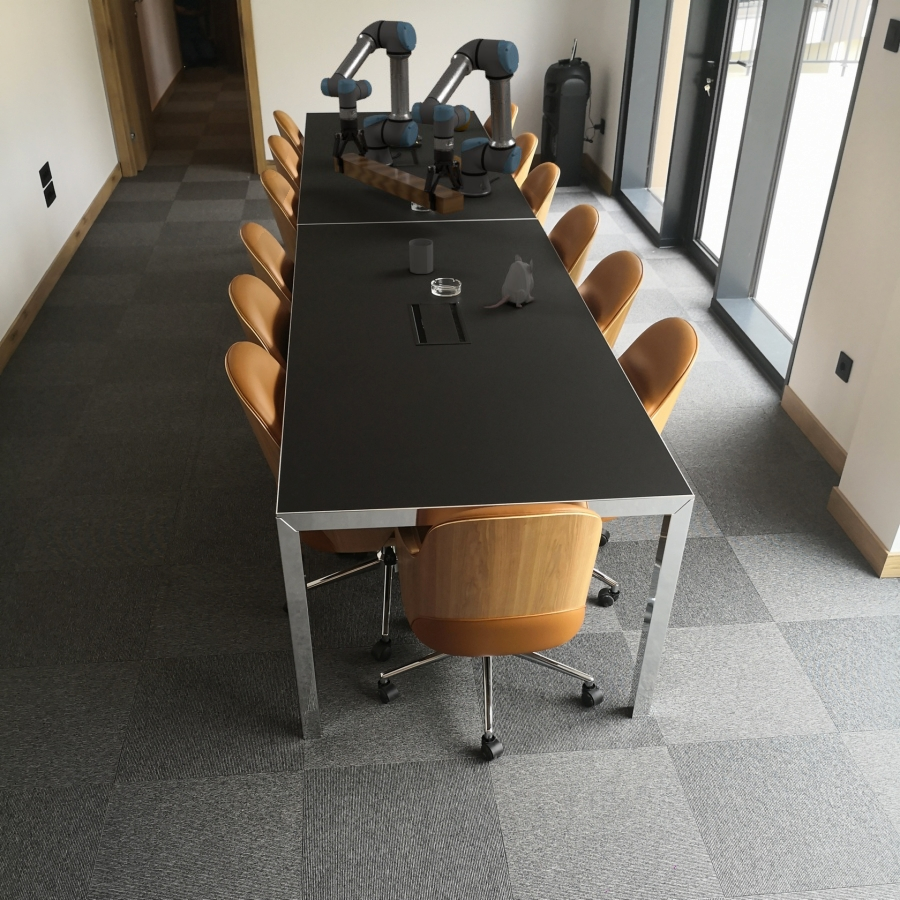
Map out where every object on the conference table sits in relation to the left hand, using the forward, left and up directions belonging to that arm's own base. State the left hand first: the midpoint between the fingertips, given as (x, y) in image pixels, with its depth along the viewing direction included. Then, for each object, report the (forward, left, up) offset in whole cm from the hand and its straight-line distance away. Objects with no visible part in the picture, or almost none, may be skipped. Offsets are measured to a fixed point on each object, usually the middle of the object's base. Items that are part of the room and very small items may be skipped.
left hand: (351, 171), depth 384 cm
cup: (+61, +82, -9) cm, 102 cm away
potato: (-50, +20, -9) cm, 55 cm away
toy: (+72, +124, -9) cm, 144 cm away
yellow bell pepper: (-128, -27, -9) cm, 131 cm away
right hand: (+21, +64, 0) cm, 68 cm away
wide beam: (+10, +32, 0) cm, 34 cm away
